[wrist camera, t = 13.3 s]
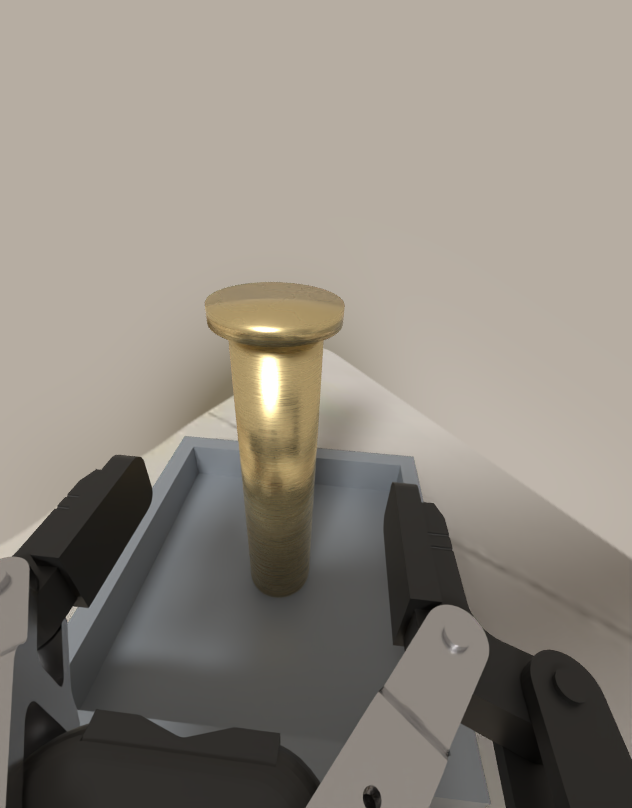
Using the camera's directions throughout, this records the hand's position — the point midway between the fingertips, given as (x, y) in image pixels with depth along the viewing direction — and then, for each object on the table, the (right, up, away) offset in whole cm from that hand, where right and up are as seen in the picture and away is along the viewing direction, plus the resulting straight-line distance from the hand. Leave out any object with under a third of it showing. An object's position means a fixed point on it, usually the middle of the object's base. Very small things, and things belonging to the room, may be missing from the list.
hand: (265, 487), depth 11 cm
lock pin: (0, -6, +8) cm, 10 cm away
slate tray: (0, -8, +8) cm, 11 cm away
